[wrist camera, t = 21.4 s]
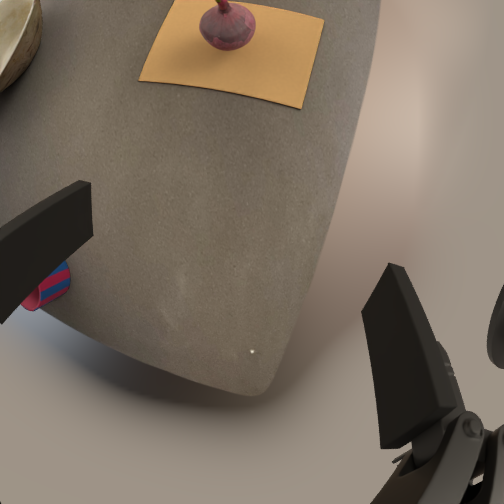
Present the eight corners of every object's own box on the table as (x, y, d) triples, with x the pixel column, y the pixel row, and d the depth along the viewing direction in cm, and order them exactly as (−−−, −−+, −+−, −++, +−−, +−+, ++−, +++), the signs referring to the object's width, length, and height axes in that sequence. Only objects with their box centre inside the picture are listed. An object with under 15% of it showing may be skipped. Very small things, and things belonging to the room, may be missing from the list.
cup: (41, 289, 34) (13, 304, 27) (39, 225, 32) (7, 232, 25) (72, 299, 34) (44, 317, 27) (70, 230, 32) (37, 238, 25)
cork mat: (324, 20, 25) (324, 20, 25) (301, 109, 28) (301, 109, 28) (176, -1, 25) (175, -2, 25) (138, 81, 28) (138, 80, 28)
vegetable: (234, 16, 25) (225, -33, 16) (268, 42, 26) (269, -7, 16) (196, 42, 26) (174, -2, 17) (229, 70, 27) (215, 26, 17)
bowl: (5, 142, 30) (-37, 138, 20) (-24, 89, 27) (-54, 83, 17) (89, 22, 25) (55, -6, 16) (41, -4, 23) (15, -22, 13)
